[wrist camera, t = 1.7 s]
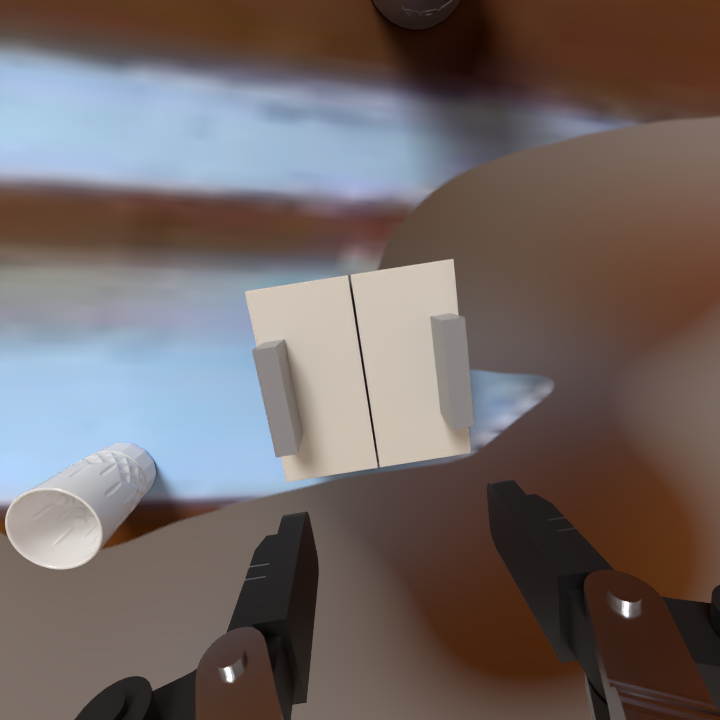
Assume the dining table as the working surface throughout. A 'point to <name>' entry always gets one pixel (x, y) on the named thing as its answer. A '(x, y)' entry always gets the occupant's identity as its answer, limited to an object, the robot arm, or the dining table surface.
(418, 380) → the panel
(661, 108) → the dining table surface
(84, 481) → the white cup
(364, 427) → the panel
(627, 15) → the dining table surface
